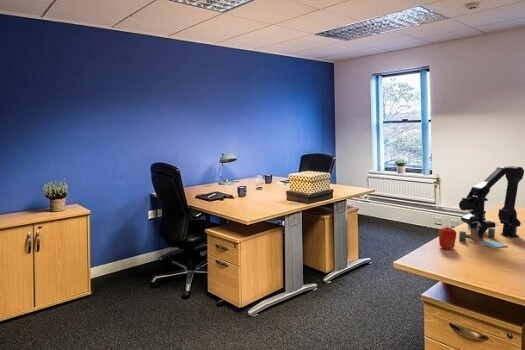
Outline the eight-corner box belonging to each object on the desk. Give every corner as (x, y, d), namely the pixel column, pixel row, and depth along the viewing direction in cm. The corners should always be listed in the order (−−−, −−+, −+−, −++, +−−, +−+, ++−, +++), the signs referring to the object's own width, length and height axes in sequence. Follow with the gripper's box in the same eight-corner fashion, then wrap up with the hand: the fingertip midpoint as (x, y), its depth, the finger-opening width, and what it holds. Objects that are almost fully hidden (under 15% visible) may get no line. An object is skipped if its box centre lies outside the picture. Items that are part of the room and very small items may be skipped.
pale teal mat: (493, 241, 204) (493, 240, 204) (507, 246, 195) (507, 245, 195) (479, 243, 202) (479, 242, 202) (493, 248, 193) (493, 247, 193)
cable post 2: (491, 236, 213) (491, 228, 212) (495, 238, 210) (496, 229, 209) (486, 237, 212) (486, 228, 212) (491, 238, 209) (491, 229, 209)
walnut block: (477, 237, 212) (477, 227, 211) (483, 239, 207) (484, 229, 207) (470, 238, 211) (470, 228, 210) (476, 240, 206) (477, 230, 206)
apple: (438, 245, 201) (438, 223, 200) (455, 246, 198) (456, 224, 196) (437, 249, 193) (438, 227, 192) (456, 251, 190) (457, 229, 188)
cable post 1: (462, 239, 209) (463, 231, 208) (467, 241, 206) (467, 232, 205) (457, 240, 208) (458, 231, 207) (462, 242, 205) (462, 233, 204)
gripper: (453, 206, 214) (452, 233, 216) (479, 213, 196) (478, 242, 198) (470, 205, 217) (469, 231, 219) (497, 212, 198) (495, 240, 200)
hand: (477, 236), depth 209 cm, fingers closed on walnut block, 4 cm apart
